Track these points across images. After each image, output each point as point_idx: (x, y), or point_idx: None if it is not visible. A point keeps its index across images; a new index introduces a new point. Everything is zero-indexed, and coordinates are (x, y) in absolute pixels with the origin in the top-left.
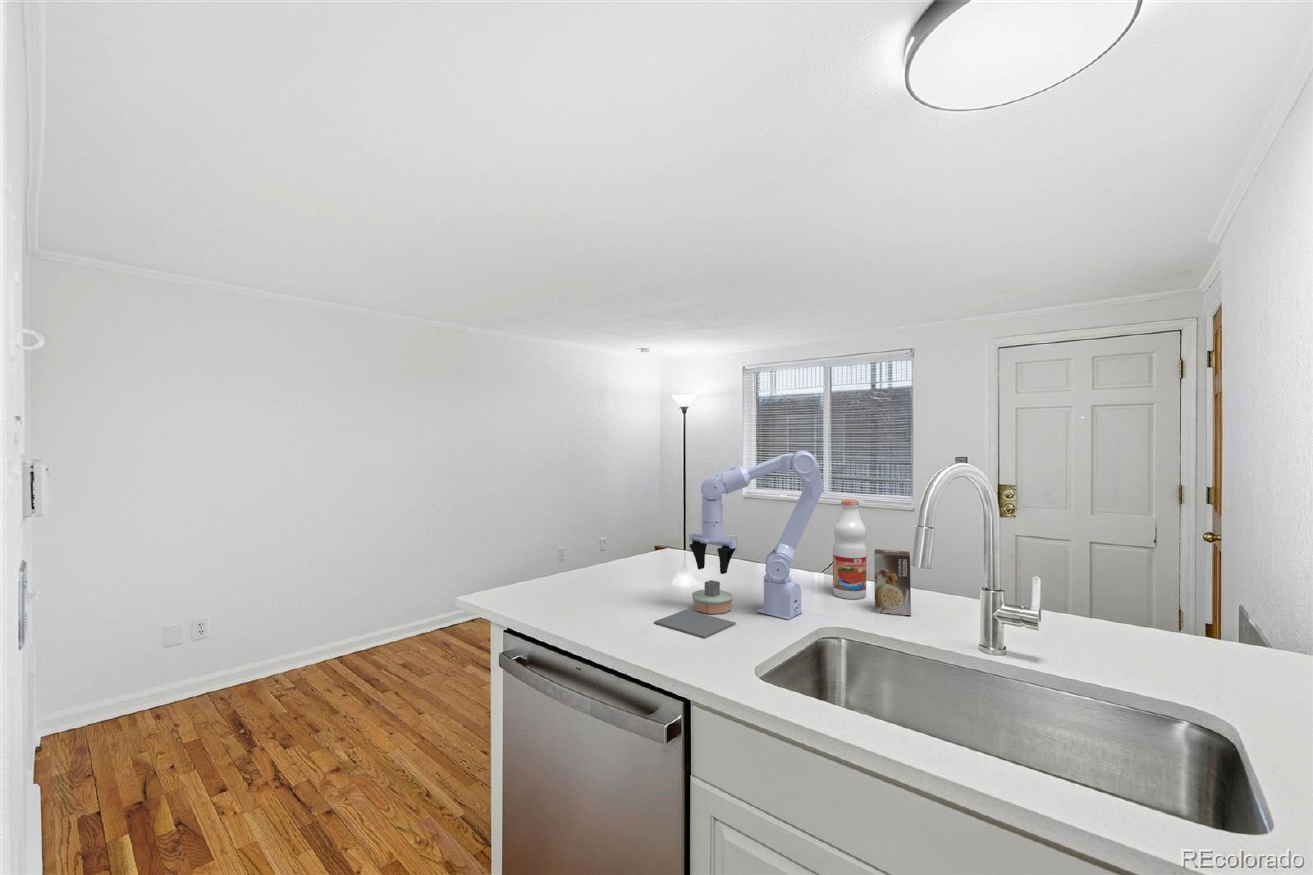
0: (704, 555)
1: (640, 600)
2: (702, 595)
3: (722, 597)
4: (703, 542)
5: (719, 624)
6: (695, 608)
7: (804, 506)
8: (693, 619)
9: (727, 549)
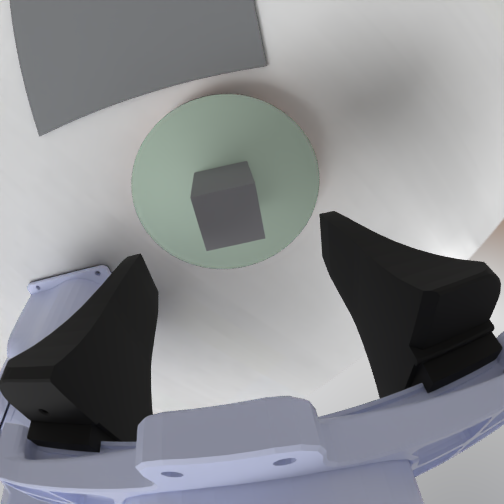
0: (356, 322)
1: (457, 54)
2: (246, 147)
3: (165, 202)
4: (380, 407)
5: (49, 74)
6: (238, 94)
7: None
8: (144, 16)
9: (16, 405)
